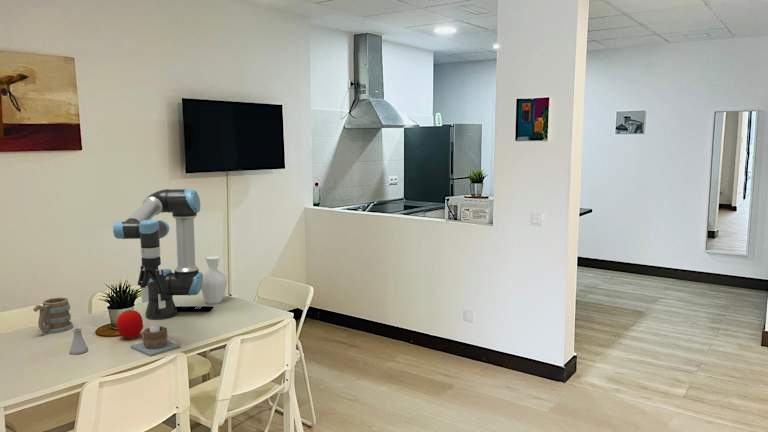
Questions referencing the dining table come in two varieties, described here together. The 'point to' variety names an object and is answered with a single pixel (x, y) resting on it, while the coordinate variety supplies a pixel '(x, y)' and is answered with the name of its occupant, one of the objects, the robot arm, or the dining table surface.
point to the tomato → (129, 324)
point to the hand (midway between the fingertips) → (153, 305)
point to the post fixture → (155, 350)
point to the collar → (155, 337)
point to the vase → (213, 282)
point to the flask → (78, 343)
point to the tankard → (54, 315)
